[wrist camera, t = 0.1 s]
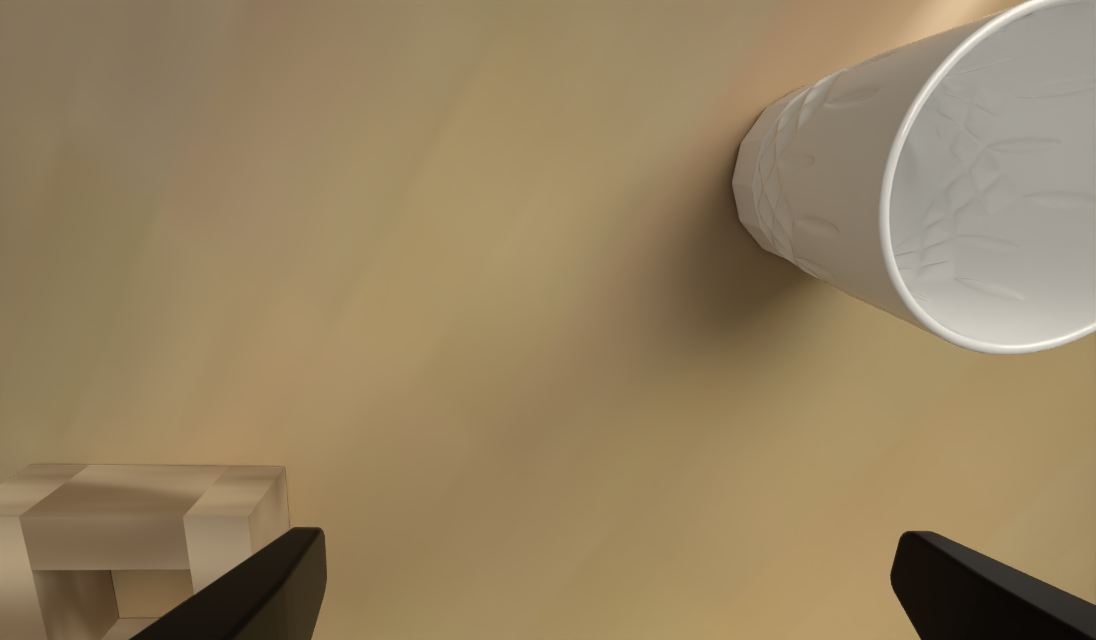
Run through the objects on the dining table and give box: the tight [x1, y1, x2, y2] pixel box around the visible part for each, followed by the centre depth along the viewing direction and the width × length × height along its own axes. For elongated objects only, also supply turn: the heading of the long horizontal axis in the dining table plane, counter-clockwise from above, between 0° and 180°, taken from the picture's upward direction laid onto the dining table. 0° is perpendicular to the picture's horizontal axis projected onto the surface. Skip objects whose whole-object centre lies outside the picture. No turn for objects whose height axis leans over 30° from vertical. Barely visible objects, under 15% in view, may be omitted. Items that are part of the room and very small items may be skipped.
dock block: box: [0, 464, 290, 640], centre depth 23 cm, size 10×10×4 cm
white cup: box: [732, 0, 1096, 355], centre depth 17 cm, size 8×8×10 cm
